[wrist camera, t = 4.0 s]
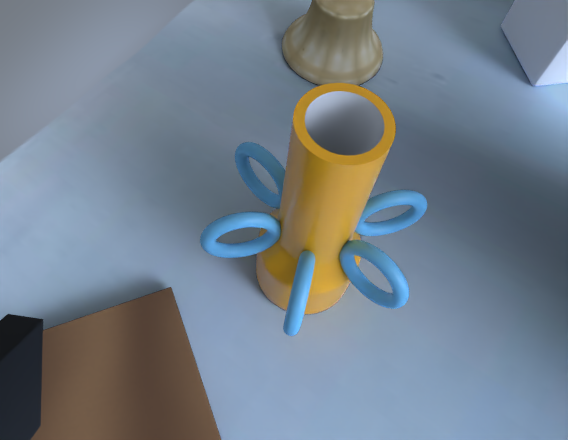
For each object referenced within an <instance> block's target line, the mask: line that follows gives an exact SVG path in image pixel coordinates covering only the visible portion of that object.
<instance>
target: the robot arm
mask: <svg viewBox="0 0 568 440" xmlns="http://www.w3.org/2000/svg"><path fill="white" fill-rule="evenodd" d="M42 346H43V319H37V318H31V317H24V316H18V315H11V314H7V315H6V316H5V317H4V318H3V319H1V320H0V440H31V438H32V437H33V436H34V434H35V433H36V432H37V430H38V429H39V427H40V426H41V391H42Z"/></svg>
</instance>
